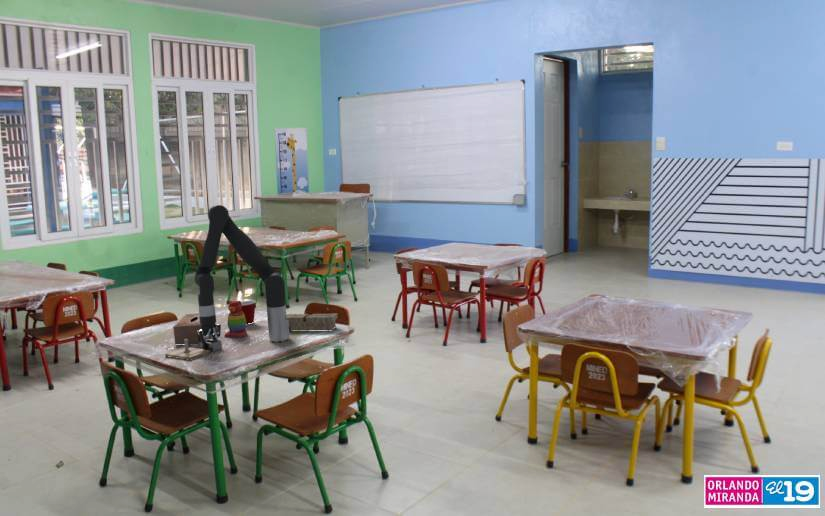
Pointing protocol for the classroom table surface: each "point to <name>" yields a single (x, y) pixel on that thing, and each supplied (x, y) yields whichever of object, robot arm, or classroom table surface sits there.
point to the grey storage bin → (212, 345)
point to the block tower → (311, 321)
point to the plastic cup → (248, 310)
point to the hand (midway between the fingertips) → (210, 348)
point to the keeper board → (187, 352)
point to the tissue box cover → (187, 329)
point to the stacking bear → (236, 320)
